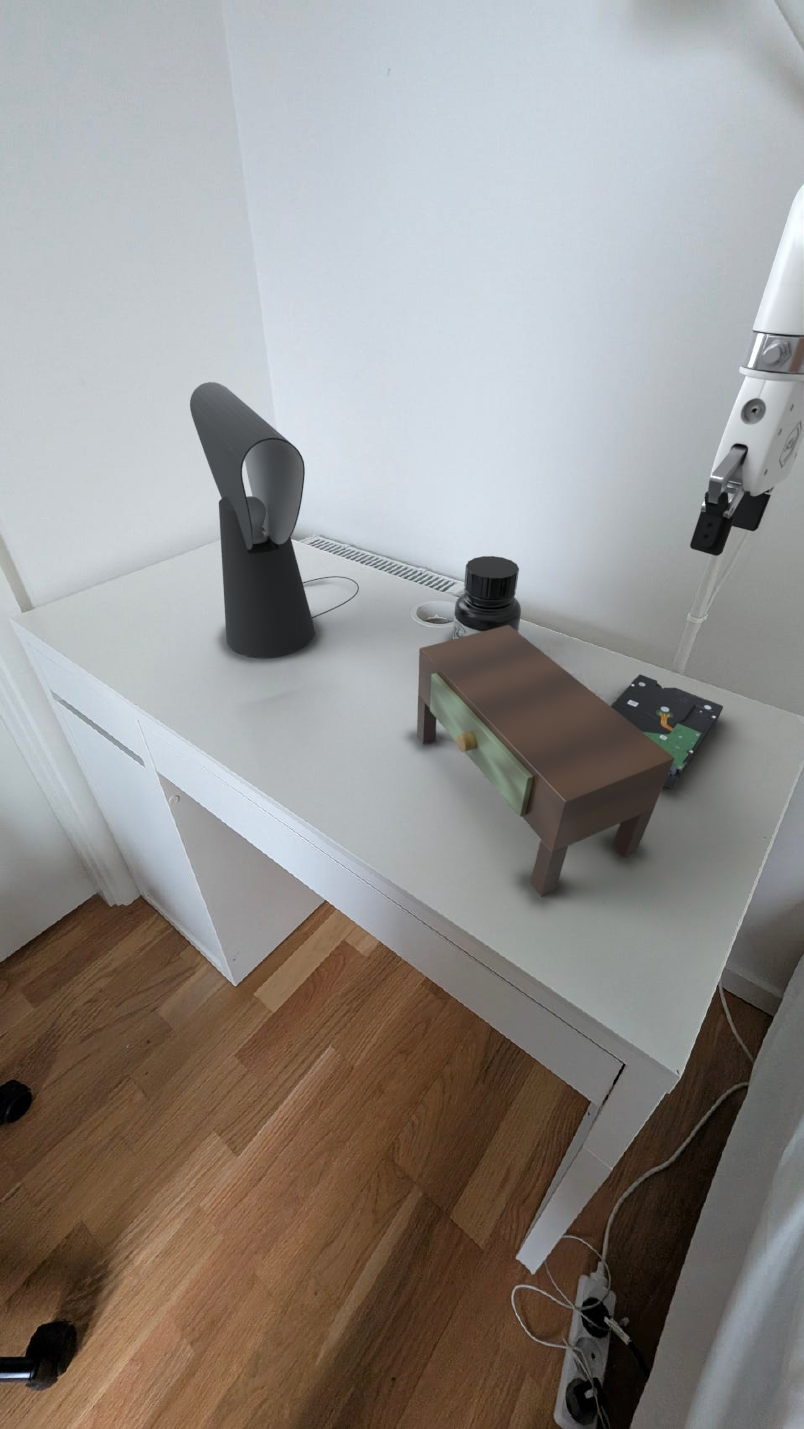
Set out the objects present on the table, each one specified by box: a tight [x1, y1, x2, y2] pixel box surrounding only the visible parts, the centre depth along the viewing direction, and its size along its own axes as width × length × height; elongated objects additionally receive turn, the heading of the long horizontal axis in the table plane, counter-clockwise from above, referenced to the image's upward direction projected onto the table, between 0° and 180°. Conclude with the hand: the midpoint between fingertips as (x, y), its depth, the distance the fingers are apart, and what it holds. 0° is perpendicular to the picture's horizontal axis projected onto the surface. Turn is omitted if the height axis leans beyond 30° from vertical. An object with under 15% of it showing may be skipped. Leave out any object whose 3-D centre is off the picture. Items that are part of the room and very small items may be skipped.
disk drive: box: [610, 674, 724, 789], centre depth 66 cm, size 10×3×15 cm
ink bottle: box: [452, 555, 522, 640], centre depth 78 cm, size 10×9×12 cm
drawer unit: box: [416, 625, 675, 897], centre depth 56 cm, size 24×13×12 cm, turn 26°
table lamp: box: [189, 381, 360, 659], centre depth 80 cm, size 40×28×30 cm
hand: (724, 539), depth 63 cm, fingers open, 9 cm apart
